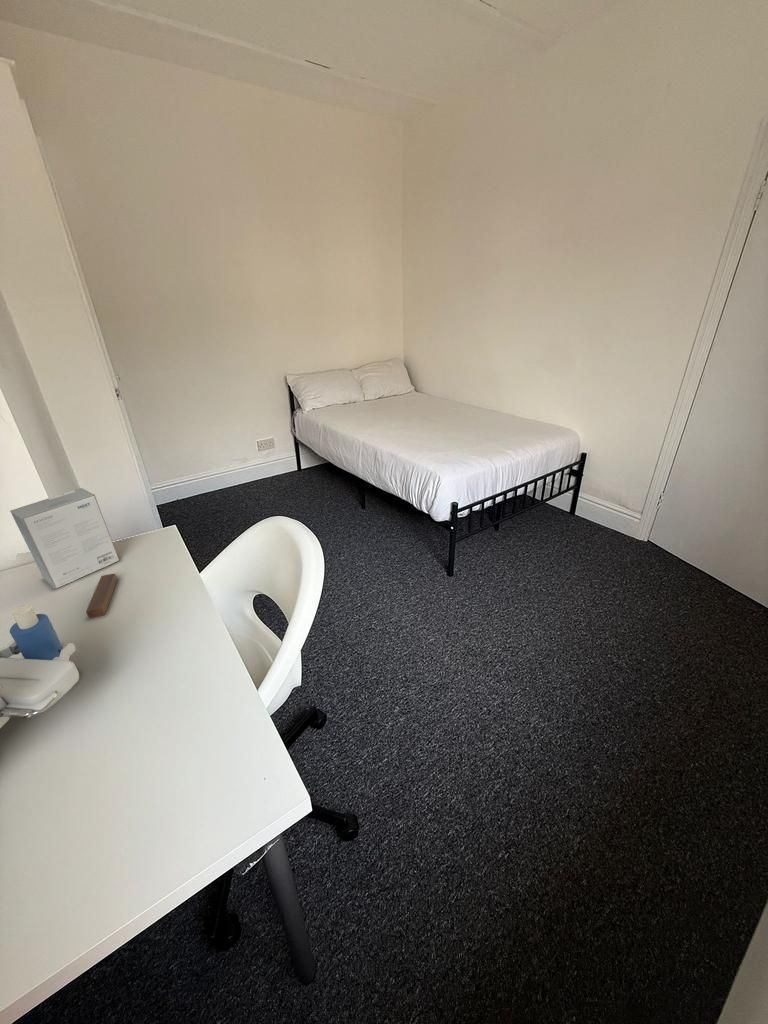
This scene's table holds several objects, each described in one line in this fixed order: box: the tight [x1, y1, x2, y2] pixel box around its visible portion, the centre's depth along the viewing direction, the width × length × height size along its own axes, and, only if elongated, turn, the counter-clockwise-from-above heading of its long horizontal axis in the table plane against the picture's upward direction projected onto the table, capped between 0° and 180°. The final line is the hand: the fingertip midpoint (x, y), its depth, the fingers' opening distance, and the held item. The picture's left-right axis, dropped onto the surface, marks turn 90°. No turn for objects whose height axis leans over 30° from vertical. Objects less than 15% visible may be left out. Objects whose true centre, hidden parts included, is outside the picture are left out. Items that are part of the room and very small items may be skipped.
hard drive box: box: [9, 487, 120, 590], centre depth 104 cm, size 16×8×20 cm, turn 144°
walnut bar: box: [85, 573, 118, 619], centre depth 98 cm, size 3×14×2 cm, turn 20°
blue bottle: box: [9, 604, 63, 660], centre depth 73 cm, size 5×5×17 cm
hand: (45, 644), depth 73 cm, fingers open, 8 cm apart
